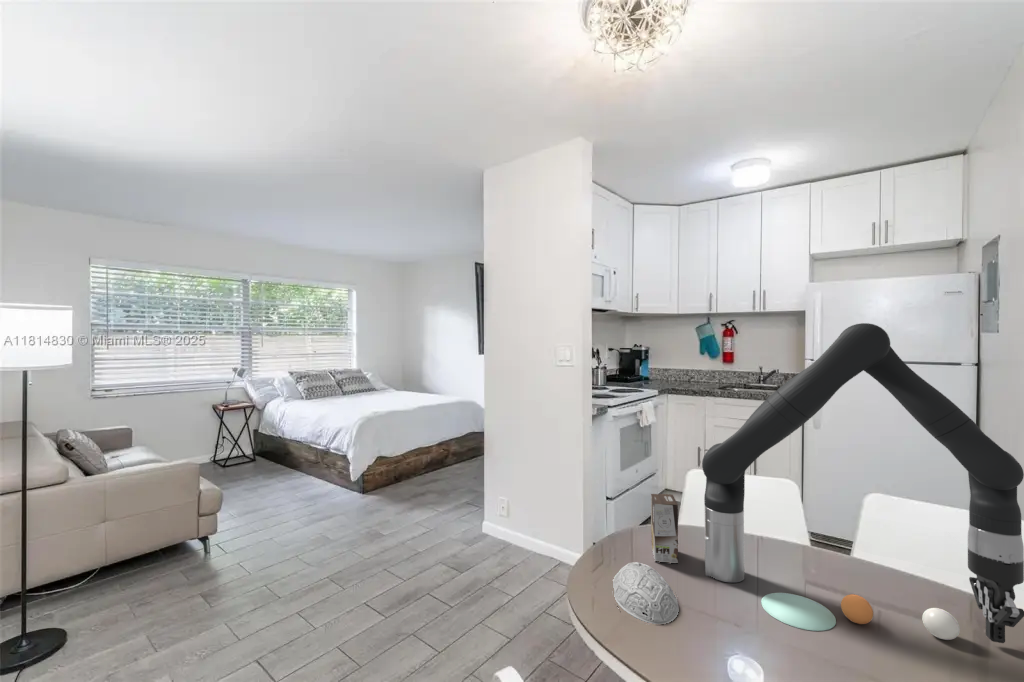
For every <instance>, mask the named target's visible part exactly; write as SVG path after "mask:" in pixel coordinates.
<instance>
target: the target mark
mask: <svg viewBox="0 0 1024 682" xmlns="http://www.w3.org/2000/svg"><path fill="white" fill-rule="evenodd" d="M760 603H761V606H762V608H763V610H764V611H765V612H766V613H767V614H768V615H770V616H771V617H772V618H774V619H776V620H777V621H779V622H781V623H783V624H785V625H788V626H791V627H793V628H797V629H800V630H804V631H805V630H806V631H811V632H812V631H813V632H823V631H829V630H831V629H833V628H834V627H835V625H837V624H836V623H837V621H836V616H835V615H834V613H832V612H831V611H830V610H829V609H828V608H827V607H826V606H824V605H823V604H821V603H819V602H818V601H815V600H812V599H810V598H807V597H806V596H801V595H797V594H793V593H787V592H773V593H772V592H771V593H768V594H766V595H764V596H763V597H762V598H761V602H760Z"/></svg>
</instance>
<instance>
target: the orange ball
mask: <svg viewBox="0 0 1024 682" xmlns="http://www.w3.org/2000/svg"><path fill="white" fill-rule="evenodd" d="M840 608H841V611H842V612H843V614H844V615H845V617H846V618H847V619H848V620H850V621H851V622H852V623H855V624H856V625H857V624H858V625H866V624H869V623H870V622H871V621H872V620H873V618H874V610H873V607H872V606H871V604H870V602H869V601H868V600H867V599H866V598H864V597H863V596H861V595H859V594H847V595H845V596H844V597H843V598H842V599H841V601H840Z"/></svg>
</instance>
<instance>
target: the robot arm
mask: <svg viewBox="0 0 1024 682" xmlns="http://www.w3.org/2000/svg"><path fill="white" fill-rule="evenodd" d="M863 371H864V372H865V373H866V374H868V375H869V376H870V377H872V378H873V379H874V380H876V381H877V382H878V384H880V385H881V386H883V388H885V389H886V390H887V391H888V392H889V393H890V395H892V396H893V398H895V400H897V402H899V403H900V404H901V406H902V407H904V409H905V410H906V411H907V412H908V413H909V414H910V415H911V416H912V417H913V418H914V419H915V420H916V421H917V422H918V423H919V424H920V425H921V427H923V428H924V429H925V430H926V432H928V433H929V434H930V435H931V436H932V437H934V439H935V440H936V441H938V442H939V443H940V444H941V445H942V446H943V447H945V449H947V450H948V451H949V452H950V453H951V454H952V455H953V457H954V458H955V459H956V460H957V461H958V462H959V463H960V465H962V467H963V468H964V469H965V470H966V471H967V473H968V484H969V493H970V498H969V508H968V509H969V510H968V512H969V516H968V517H969V518H968V519H969V521H968V522H969V523H968V525H969V526H968V530H967V568H968V569H969V571H970V572H971V573H973V574H974V575H975V576H976V577H973V576H969V579H968V580H969V584H970V586H971V589H972V592H973V596H974V598H975V602H976V605H977V607H978V609H979V610H981V611H982V615H983V617H984V618H985V636H986V638H987V639H989V640H990V641H991V642H994V643H999V644H1004V643H1005V642H1006V627H1010V628H1014V627H1016V626H1017V624H1018V623H1019V622H1020V621H1021V620H1022V619H1023V618H1024V609H1023V608H1020V607H1019V608H1018V607H1017V606H1016V603H1015V600H1016V594H1015V589H1014V587H1015V586H1017V585H1021V584H1023V583H1024V542H1023V536H1022V513H1021V508H1020V505H1019V503H1018V486H1019V485H1020V484H1021V483H1022V482H1023V479H1024V469H1023V467H1022V465H1021V464H1020V463H1019V461H1018V460H1017V459H1016V458H1015V457H1014V456H1013V455H1012V454H1011V453H1009V452H1008V451H1006V450H1004V449H1003V448H1002V447H1000V446H999V444H997V443H996V442H995V441H994V440H993V439H991V438H990V437H989V436H988V435H986V434H985V433H984V432H983V431H982V429H981V427H979V426H978V424H977V423H975V421H974V420H972V419H971V418H970V416H968V415H967V414H966V413H965V412H964V411H962V409H961V408H959V406H957V405H956V404H955V403H954V402H953V401H951V399H949V398H948V397H947V396H946V395H944V394H943V393H942V392H940V390H938V389H937V388H935V387H934V386H933V385H931V384H930V383H929V382H927V381H926V380H925V379H923V378H922V377H921V376H920V375H919V374H917V373H916V372H915V371H914V370H912V369H911V368H910V366H909V365H907V364H906V363H905V361H903V360H902V359H901V357H900V356H899V355H898V354H897V353H896V351H895V350H894V349H893V347H892V346H891V340H890V337H889V334H888V332H886V330H885V329H883V328H882V327H881V326H879V325H878V324H877V325H876V324H874V323H869V322H867V323H866V322H865V323H863V322H862V323H856V324H853V325H850V326H848V327H846V328H845V329H844V330H843V331H842V332H841V333H840V334H839V336H838V337H837V338H836V339H835V340H834V341H833V342H832V344H831V345H830V346H829V347H828V348H827V349H826V350H825V351H824V352H823V353H822V354H821V355H820V356H819V357H818V358H817V359H816V360H815V361H814V362H813V363H812V364H810V365H809V366H807V367H806V368H805V369H803V370H801V371H800V372H798V373H797V374H796V375H794V376H793V377H791V378H790V379H788V380H787V382H785V383H784V384H783V385H781V386H780V387H779V388H778V389H776V390H775V391H774V392H773V393H772V394H771V395H769V396H768V397H767V398H766V399H765V400H764V401H763V402H762V403H761V404H760V405H759V406H758V407H757V408H756V409H755V410H754V411H753V412H752V414H750V416H749V418H747V419H746V421H745V422H744V424H743V425H742V426H741V427H740V428H739V429H738V430H737V431H736V432H734V433H733V434H732V435H731V436H729V437H728V438H727V439H726V440H724V441H723V442H720V443H716V444H713V445H712V446H711V447H710V448H709V449H708V450H707V451H706V452H705V454H704V456H703V458H702V465H701V468H702V471H703V474H704V476H705V477H706V479H705V481H706V482H705V492H704V574H705V576H706V577H710V576H711V577H710V578H712V577H713V578H712V579H714V578H715V580H718V581H721V582H725V583H730V584H731V583H740V582H742V581H744V579H745V572H746V570H745V525H744V524H745V513H744V512H745V508H744V506H745V488H746V487H745V483H746V482H745V481H746V480H745V478H746V477H745V475H746V474H745V471H746V470H747V469H748V468H749V467H751V465H752V464H754V462H756V460H757V459H758V458H759V457H760V456H761V455H763V454H765V452H766V451H768V450H769V449H771V448H773V447H774V446H776V445H777V444H779V443H780V442H781V441H783V440H785V439H786V438H787V437H788V436H790V435H791V434H793V433H794V432H795V431H797V430H798V429H799V428H800V427H802V426H803V425H804V424H806V422H808V421H809V420H810V419H811V418H813V417H814V416H815V415H816V414H817V413H818V412H819V411H820V410H821V409H823V407H824V406H825V405H826V404H827V403H828V402H829V401H830V400H831V398H832V397H833V396H834V395H835V394H836V392H837V393H838V391H839V390H840V389H841V388H842V387H843V386H844V385H845V384H846V383H848V382H849V381H850V380H852V379H853V378H855V377H856V376H858V375H859V374H860V373H862V372H863Z"/></svg>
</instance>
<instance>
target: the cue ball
mask: <svg viewBox="0 0 1024 682" xmlns="http://www.w3.org/2000/svg"><path fill="white" fill-rule="evenodd" d="M921 618H922V623H923V626H924V627H925V629H926V630H927V631H928V632H929V633H930V634H931V635H933V636H935V637H936V638H937V639H941V640H945V641H949V640H954V639H956V638H957V637H958V636H959V634H960V631H961V628H960V625H959V622H958V621H957V619H956V618H955V617H954V616H953V614H951V613H950V612H948V611H946V610H944V609H942V608H938V607H930V608H928V609H925V611H924V612H923V614H922V616H921Z"/></svg>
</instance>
